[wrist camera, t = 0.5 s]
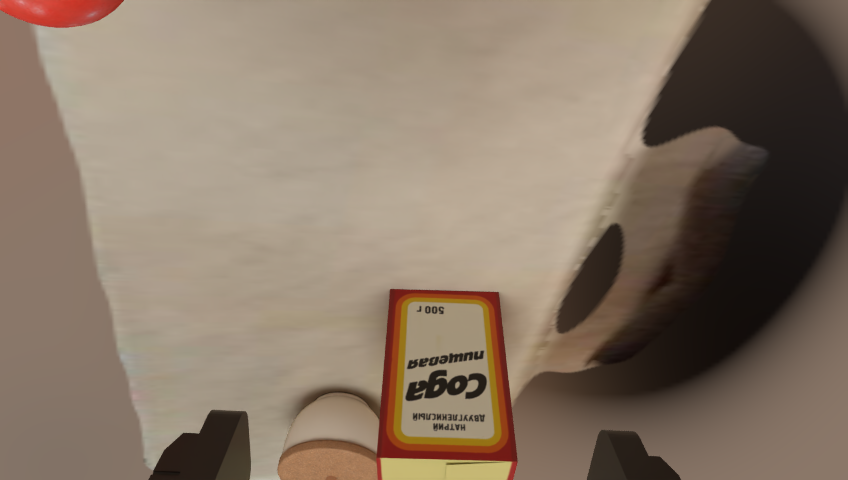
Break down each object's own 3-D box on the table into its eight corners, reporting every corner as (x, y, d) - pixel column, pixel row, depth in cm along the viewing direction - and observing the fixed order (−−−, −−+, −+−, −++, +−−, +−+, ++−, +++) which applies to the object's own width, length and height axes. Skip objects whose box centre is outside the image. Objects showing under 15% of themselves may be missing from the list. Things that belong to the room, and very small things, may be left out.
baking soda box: (391, 336, 55) (378, 506, 43) (390, 289, 50) (375, 463, 38) (491, 339, 55) (506, 510, 43) (498, 292, 50) (518, 467, 38)
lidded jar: (409, 416, 64) (406, 501, 57) (335, 443, 68) (323, 525, 61) (348, 367, 58) (336, 454, 51) (271, 399, 62) (249, 485, 55)
